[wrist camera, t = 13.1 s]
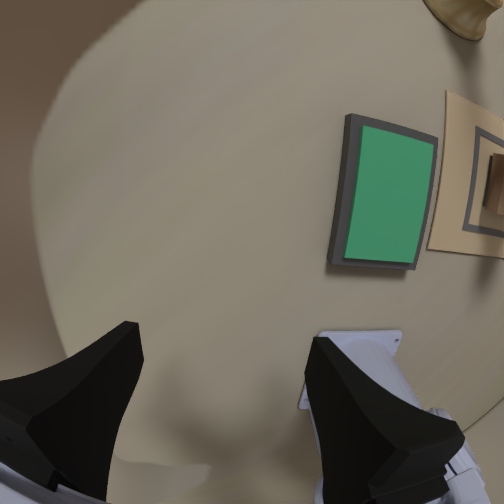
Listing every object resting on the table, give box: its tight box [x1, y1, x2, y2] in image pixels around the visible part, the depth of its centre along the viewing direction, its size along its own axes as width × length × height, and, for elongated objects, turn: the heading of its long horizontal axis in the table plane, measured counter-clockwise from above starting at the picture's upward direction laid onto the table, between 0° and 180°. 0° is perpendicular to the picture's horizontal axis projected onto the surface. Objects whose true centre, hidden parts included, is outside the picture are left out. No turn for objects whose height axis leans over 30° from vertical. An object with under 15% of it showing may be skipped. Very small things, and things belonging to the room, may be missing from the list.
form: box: [427, 90, 504, 258], centre depth 18 cm, size 13×16×1 cm
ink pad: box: [327, 113, 438, 270], centre depth 18 cm, size 10×7×2 cm
